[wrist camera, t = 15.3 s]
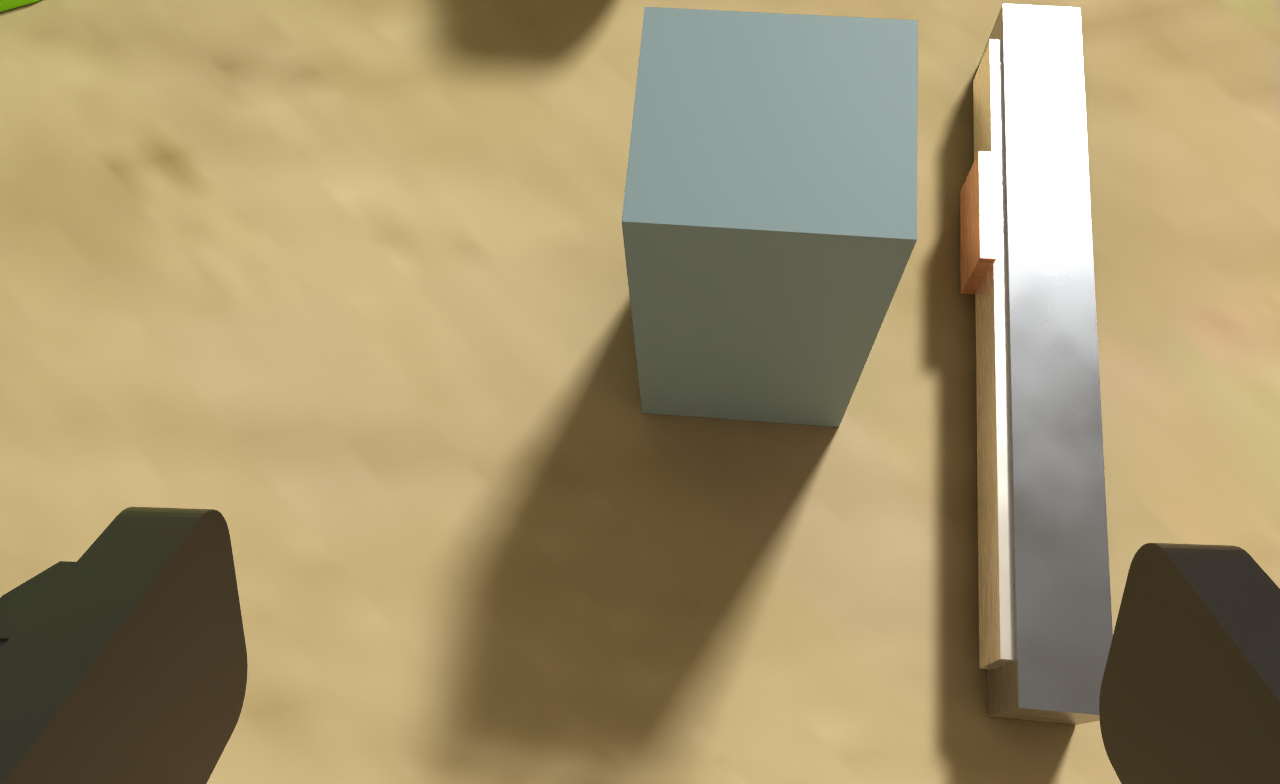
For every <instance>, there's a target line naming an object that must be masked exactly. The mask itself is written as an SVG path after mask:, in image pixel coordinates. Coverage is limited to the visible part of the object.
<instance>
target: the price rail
mask: <svg viewBox="0 0 1280 784" xmlns="http://www.w3.org/2000/svg"><path fill="white" fill-rule="evenodd" d="M973 107H974V163H973V165H972V167H971V170H970V172H969V174H968V176H967V178H966V181H965V183H964V185H963V187H962V189H961V192H960V237H961V293H963V294H976V386H977V479H978V572H979V665H980V668H981V669H987V690H988V717H998V718H1009V719H1020V720H1031V721H1041V722H1052V723H1063V724H1074V725H1078V724H1083V723H1088V722H1093V721H1098V720H1100V717H1099V698H1100V689H1101V684H1102V679H1103V675H1104V671H1105V667H1106V663H1107V659H1108V655H1109V650H1110V646H1111V642H1112V638H1113V633H1112V613H1111V594H1110V575H1109V555H1108V536H1107V516H1106V497H1105V477H1104V458H1103V439H1102V419H1101V400H1100V380H1099V361H1098V341H1097V322H1096V302H1095V283H1094V264H1093V244H1092V225H1091V205H1090V186H1089V166H1088V147H1087V127H1086V108H1085V89H1084V69H1083V50H1082V30H1081V11H1080V8H1076V7H1056V6H1037V5H1017V4H1003V5H1002V7H1001V10H1000V12H999V15H998V17H997V20H996V22H995V25H994V27H993V30H992V32H991V35H990V37H989V40H988V42H987V45H986V47H985V50H984V52H983V55H982V57H981V60H980V62H979V68H978V70H977V73H976V75H975V78H974V80H973Z"/></svg>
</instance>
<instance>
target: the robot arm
mask: <svg viewBox="0 0 1280 784" xmlns="http://www.w3.org/2000/svg"><path fill="white" fill-rule="evenodd" d="M246 682H247V652H246V645H245V638H244V631H243V624H242V617H241V610H240V603H239V596H238V589H237V582H236V575H235V568H234V561H233V554H232V547H231V541H230V535H229V530H228V526H227V523H226V521H225V519H224V517H223V516H222V514H221V513H220V512H218V511H217V510H210V509H180V508H150V507H130V508H127V509H125V510H123V511H122V512H121V513H120V514H119V515H118V516H117V517H116V518H115V519H114V520H113V521H112V522H111V524H110V525H109V526H108V527H107V528H106V529H105V530H104V532H103V533H102V534H101V535H100V536H99V537H98V538H97V540H96V541H95V542H94V543H93V544H92V545H91V546H90V548H89V549H88V550H87V551H86V552H85V553H84V554H83V555H82V557H81V558H80V559H79V560H78V561H77V562H62V561H60V562H58V563H57V564H55V565H53V566H52V567H50V568H48V569H47V570H45V571H43V572H41V573H40V574H38V575H36V576H35V577H33V578H31V579H30V580H28V581H26V582H25V583H23V584H21V585H20V586H18V587H16V588H15V589H13V590H11V591H10V592H8V593H6V594H5V595H3V596H2V597H1V598H0V784H206V783H207V781H208V779H209V777H210V775H211V773H212V771H213V770H214V768H215V766H216V764H217V762H218V760H219V758H220V756H221V754H222V752H223V750H224V748H225V746H226V744H227V742H228V740H229V738H230V736H231V734H232V733H233V731H234V728H235V726H236V724H237V722H238V719H239V716H240V713H241V709H242V706H243V701H244V696H245V690H246ZM1099 717H1100V727H1101V733H1102V738H1103V742H1104V746H1105V749H1106V752H1107V755H1108V757H1109V760H1110V762H1111V764H1112V766H1113V768H1114V770H1115V772H1116V774H1117V776H1118V778H1119V780H1120V781H1121V783H1122V784H1280V589H1279V588H1278V587H1277V585H1276V584H1275V583H1274V582H1273V581H1272V580H1271V579H1270V577H1269V576H1268V575H1267V574H1266V573H1265V572H1264V571H1263V570H1262V568H1261V567H1260V566H1259V565H1258V564H1257V563H1256V562H1255V561H1254V559H1253V558H1252V557H1251V556H1250V555H1249V554H1248V553H1247V552H1246V551H1245V550H1243V549H1241V548H1240V547H1236V546H1225V545H1195V544H1165V543H1148V544H1145V545H1143V546H1142V547H1141V548H1140V549H1139V550H1138V551H1137V553H1136V554H1135V556H1134V558H1133V560H1132V562H1131V566H1130V569H1129V573H1128V577H1127V581H1126V585H1125V589H1124V593H1123V597H1122V601H1121V605H1120V610H1119V614H1118V618H1117V622H1116V626H1115V630H1114V634H1113V638H1112V642H1111V646H1110V650H1109V655H1108V659H1107V663H1106V667H1105V671H1104V675H1103V679H1102V684H1101V689H1100V698H1099Z"/></svg>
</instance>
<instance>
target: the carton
mask: <svg viewBox="0 0 1280 784" xmlns="http://www.w3.org/2000/svg"><path fill="white" fill-rule="evenodd" d="M917 91H918V20H902V19H881V18H861V17H840V16H820V15H800V14H779V13H759V12H738V11H718V10H698V9H677V8H657V7H645V10H644V19H643V28H642V38H641V47H640V56H639V66H638V75H637V84H636V94H635V103H634V112H633V122H632V131H631V140H630V150H629V159H628V168H627V178H626V187H625V196H624V206H623V215H622V228H623V237H624V247H625V256H626V266H627V276H628V285H629V295H630V304H631V314H632V323H633V333H634V342H635V352H636V361H637V371H638V380H639V390H640V399H641V409H642V413H650V414H663V415H677V416H691V417H705V418H718V419H732V420H746V421H760V422H773V423H787V424H801V425H815V426H828V427H839V425H840V423H841V421H842V418H843V416H844V413H845V411H846V409H847V406H848V404H849V401H850V399H851V397H852V394H853V392H854V389H855V387H856V385H857V382H858V380H859V377H860V375H861V373H862V370H863V368H864V365H865V363H866V361H867V358H868V356H869V353H870V351H871V349H872V346H873V344H874V341H875V339H876V337H877V334H878V332H879V329H880V327H881V325H882V322H883V320H884V317H885V315H886V313H887V310H888V308H889V305H890V303H891V301H892V298H893V296H894V293H895V291H896V288H897V286H898V284H899V281H900V279H901V276H902V274H903V272H904V269H905V267H906V264H907V262H908V260H909V257H910V255H911V252H912V250H913V248H914V245H915V243H916V240H917Z"/></svg>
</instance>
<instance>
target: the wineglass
mask: <svg viewBox="0 0 1280 784" xmlns="http://www.w3.org/2000/svg"><path fill="white" fill-rule="evenodd" d="M38 1H40V0H0V12H2V11H6V10H9V9H13V8H16V7H20V6H23V5H27V4H30V3H34V2H38Z"/></svg>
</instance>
